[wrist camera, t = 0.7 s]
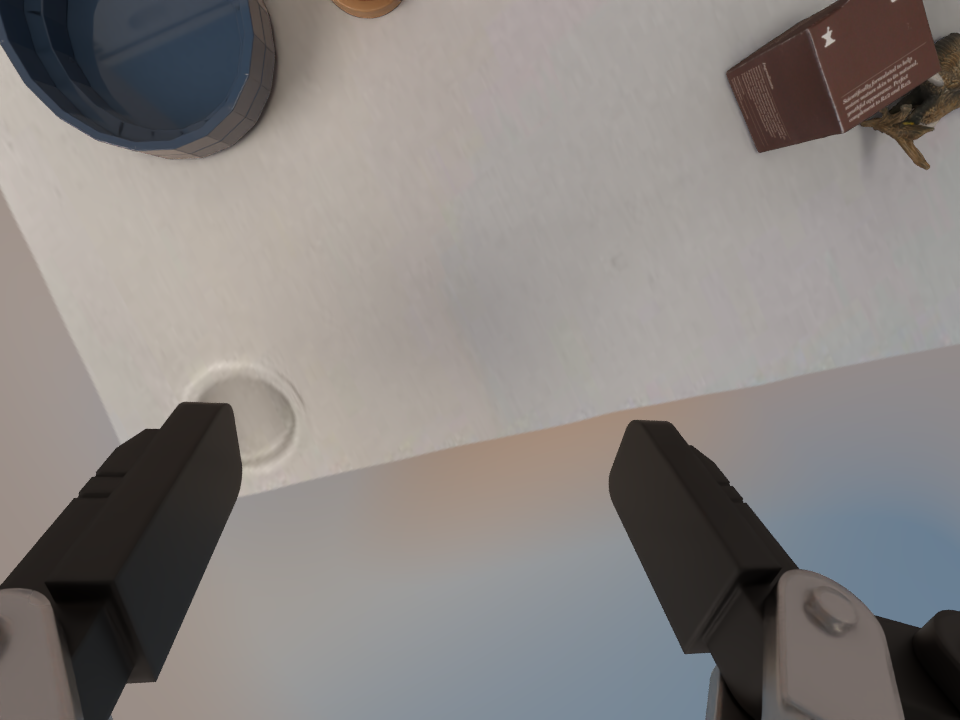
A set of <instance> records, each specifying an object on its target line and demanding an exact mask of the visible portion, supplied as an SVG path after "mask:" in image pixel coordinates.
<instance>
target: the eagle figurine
mask: <svg viewBox="0 0 960 720" xmlns="http://www.w3.org/2000/svg"><path fill="white" fill-rule="evenodd" d="M934 45H935V49H936V52H937V56H938V59H939V63H940V67H941V70H940V72H938V73H937V74H935V75H934V76H933V77H931V78H930V79H928V80H926V81H925V82H923V83H922V84H920V85H919V86H917V87H916V88H915V89H914V90H913V91H912V92H911V93H910V94H909V95H907V96H906V97H904V98H903V99H902V100H901V101H900V102H899V103H897V105H895V106H893V108H892V109H891V110H890V111H889V108H888V107H887V106H886V107H885V108H883V109H882V110H880V111H879V112H881V113H882V114H883V115H882V118H874V119H872V120H866V121H863V122H861V123H860V125H861V126H863V127H872V128H873V129H874V130H879V131H881V132H882V133H883V132H884V133H886V134H887V135H889V136H891V137H892V138H894V139H895V140H896V141H897V142H898V144H899V145H900V146H901V147H902V148H903V150H904V151H905V152H906V153H907V155H908V156H909V157H910V158H911V159H912V160H913V162H914V163H915V164H916V165H917V166H919V167H921V168H924V169H925V170H928V169H929V168H930V165H929V164H928V163H927V162H926V160H925V159H924V157H923V155H922V154H921V152H920V151H919V150H918V149H917V148H916V147H915V146H914V144H913V140H916V139H918V138H919V137H921V136H922V135H924V134H925V133H927V132H930V131H933V130H934V127H935V125H936V124H937V123H938V122H939V120H940V119H941V118H942V117H943V116H945V115H946V114H948V113H949V112H951V111H952V110H954V109H956V108H959V107H960V34H959V33H951V34H950V35H948V36H946V37H945V38H944V39H942V40H940V41H937V42H936V44H934ZM914 108H915V109H914ZM912 109H914V110H912ZM911 110H912V112H911ZM910 112H911V114H909V113H910ZM908 114H909V115H908ZM907 115H908V116H907Z"/></svg>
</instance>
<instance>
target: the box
mask: <svg viewBox="0 0 960 720" xmlns="http://www.w3.org/2000/svg"><path fill="white" fill-rule="evenodd" d="M940 70H941V67H940V63H939V59H938V56H937V52H936V49H935V45H934V41H933V38H932V34H931V31H930V27H929V24H928V20H927V17H926V13H925V9H924V5H923V1H922V0H838V1H836V2H835V3H833V4H831V5H830V6H828V7H826V8H825V9H823V10H821V11H820V12H818V13H816V14H814V15H812V16H810V17H808V18H806V19H804V20H802V21H801V22H799V23H798V24H796V25H795V26H793V27H792V28H790V29H789V30H787V31H786V32H784V33H783V34H781V35H780V36H778V37H776V38H775V39H773V40H772V41H770V42H769V43H767V44H766V45H765V46H763V47H762V48H760V49H759V50H757V51H756V52H754V53H753V54H751V55H750V56H749V57H747V58H746V59H744V60H743V61H741V62H740V63H739V64H737V65H735V66H734V67H732V68H731V69H730V70H728V71H727V73H726V75H727V78H728V80H729V83H730V85H731V88H732V90H733V92H734V95H735V97H736V100H737V102H738V104H739V107H740V109H741V111H742V114H743V116H744V119H745V121H746V124H747V126H748V129H749V131H750V134H751V136H752V139H753V141H754V143H755V146H756V148H757V150H758V152H759V153H762V152H765V151H769V150H774V149H778V148H782V147H786V146H790V145H795V144H799V143H802V142H806V141H811V140H815V139H819V138H824V137H827V136H830V135H835V134H842V133H845V132H847V131H849V130H850V129H852V128H853V127H855V126H857V125H858V124H860V123H861V122H863V121H865V120H866V119H868V118H869V117H871V116H872V115H874V114H876V113H877V112H878V111H880V110H882V109H883V108H885V107H886V106H888V105H889V104H891V103H892V102H894V101H896V100H897V99H899V98H900V97H902V96H903V95H905V94H906V93H908V92H910V91H911V90H913V89H914V88H916V87H917V86H919V85H920V84H922V83H923V82H925V81H926V80H928V79H930V78H931V77H933V76H934V75H935V74H937V73H938V72H940Z"/></svg>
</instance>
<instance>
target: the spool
mask: <svg viewBox="0 0 960 720" xmlns="http://www.w3.org/2000/svg"><path fill="white" fill-rule="evenodd" d="M332 1H333V2H334V3H335V4H336V5H337V6H338V7H339V8H341V9H342V10H344V11H345V12H347V13H349V14H351V15H354V16H357V17H361V18H375V17H380V16H382V15H385V14H387V13H389V12H391V11H392V10H393V9H394V8H396V7H397V6H398V5H399V4H400V2H401V1H402V0H332Z"/></svg>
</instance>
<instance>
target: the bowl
mask: <svg viewBox="0 0 960 720" xmlns="http://www.w3.org/2000/svg"><path fill="white" fill-rule="evenodd" d="M0 44H1V46H2V48H3V49H4V51H5V52H6V54H7V56H8V57H9V59H10V61H11V62H12V64H13V66H14V67H15V69H16V70H17V72H18V74H19V75H20V77H21V79H22V80H23V82H24V83H25V84H26V86H27V87H28V88H29V89H30V90H31V91H32V92H33V93H34V94H35V95H36V96H37V97H38V98H39V99H40V100H41V101H42V102H43V103H44V104H45V105H46V106H47V107H48V108H49V109H50V110H51V111H52V112H53V113H54V114H55V115H56V116H57V117H59V118H60V119H61V120H63V121H65V122H67V123H68V124H70V125H72V126H73V127H75V128H77V129H78V130H80V131H82V132H83V133H85V134H87V135H88V136H90V137H92V138H93V139H95V140H98V141H100V142H104V143H107V144H111V145H115V146H118V147H122V148H126V149H129V150H133V151H137V152H141V153H145V154H150V155H154V156H158V157H162V158H166V159H188V158H203V157H206V156H209V155H211V154H214V153H216V152H218V151H221V150H223V149H225V148H228V147H230V146H232V145H234V144H235V143H236V142H237V141H238V140H239V139H240V138H241V137H243V136H244V135H245V134H246V133H247V132H248V131H249V130H250V129H251V128H252V127H253V126H254V125H255V124H256V122H257V120H258V118H259V116H260V114H261V112H262V110H263V108H264V106H265V104H266V102H267V100H268V98H269V95H270V92H271V88H272V80H273V72H274V64H275V49H274V42H273V36H272V30H271V23H270V18H269V14H268V12H267V9H266V7H265V5H264V3H263V0H0Z"/></svg>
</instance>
